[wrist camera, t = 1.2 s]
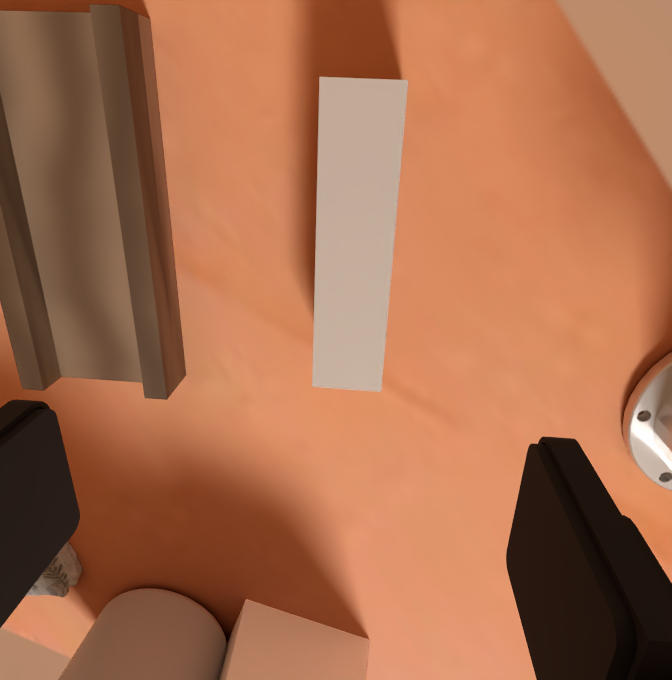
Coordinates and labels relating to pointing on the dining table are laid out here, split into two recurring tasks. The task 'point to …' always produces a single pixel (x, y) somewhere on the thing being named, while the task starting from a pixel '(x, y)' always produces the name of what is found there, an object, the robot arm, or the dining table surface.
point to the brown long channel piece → (85, 202)
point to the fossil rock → (59, 574)
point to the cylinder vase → (150, 640)
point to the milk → (291, 648)
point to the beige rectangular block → (355, 227)
